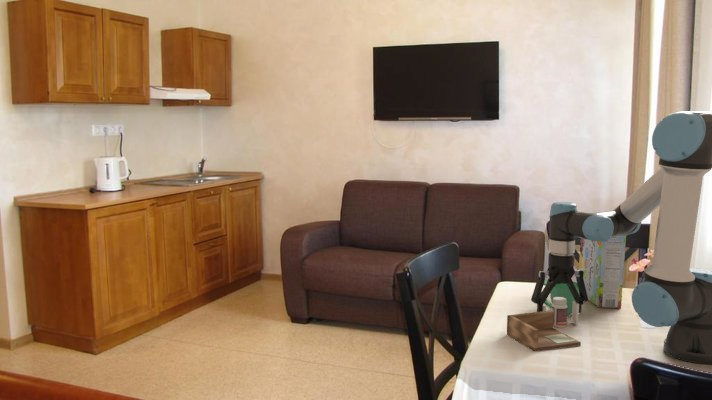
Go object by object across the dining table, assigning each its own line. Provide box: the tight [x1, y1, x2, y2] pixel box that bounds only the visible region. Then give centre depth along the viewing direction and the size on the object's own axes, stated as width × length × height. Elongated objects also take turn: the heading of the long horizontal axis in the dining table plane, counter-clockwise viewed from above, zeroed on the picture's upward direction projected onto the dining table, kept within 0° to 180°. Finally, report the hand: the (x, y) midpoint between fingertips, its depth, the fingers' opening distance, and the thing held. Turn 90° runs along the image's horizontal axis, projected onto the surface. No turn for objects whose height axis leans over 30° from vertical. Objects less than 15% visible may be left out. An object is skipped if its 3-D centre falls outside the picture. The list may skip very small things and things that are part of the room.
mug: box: [541, 280, 580, 317], centre depth 208 cm, size 15×10×10 cm
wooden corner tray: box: [506, 309, 581, 353], centre depth 182 cm, size 14×15×6 cm
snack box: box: [578, 235, 627, 309], centre depth 222 cm, size 22×9×26 cm, turn 179°
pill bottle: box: [550, 297, 568, 328], centre depth 196 cm, size 5×5×8 cm
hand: (558, 324), depth 196 cm, fingers open, 10 cm apart
